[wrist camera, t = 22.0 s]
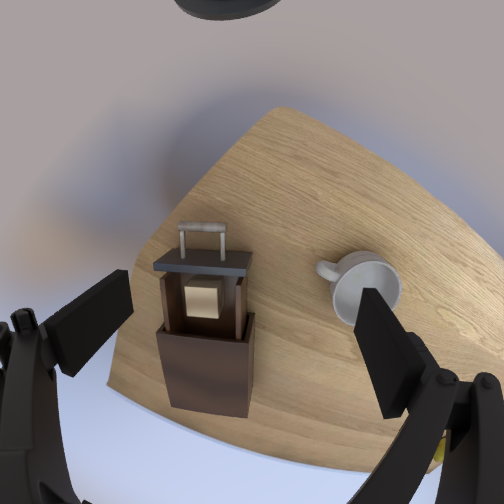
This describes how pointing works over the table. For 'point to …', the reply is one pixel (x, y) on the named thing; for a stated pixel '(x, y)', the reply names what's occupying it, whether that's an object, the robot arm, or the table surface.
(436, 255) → the table surface
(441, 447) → the apple
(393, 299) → the teacup
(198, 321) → the drawer
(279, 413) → the table surface
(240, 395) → the cabinet
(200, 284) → the block
